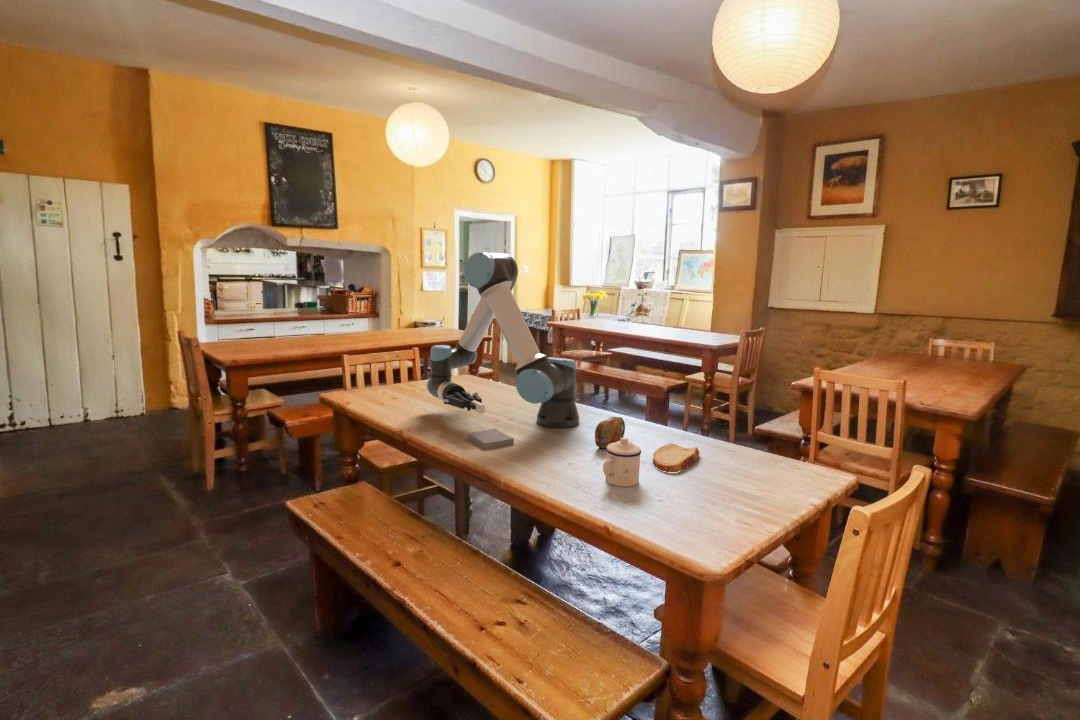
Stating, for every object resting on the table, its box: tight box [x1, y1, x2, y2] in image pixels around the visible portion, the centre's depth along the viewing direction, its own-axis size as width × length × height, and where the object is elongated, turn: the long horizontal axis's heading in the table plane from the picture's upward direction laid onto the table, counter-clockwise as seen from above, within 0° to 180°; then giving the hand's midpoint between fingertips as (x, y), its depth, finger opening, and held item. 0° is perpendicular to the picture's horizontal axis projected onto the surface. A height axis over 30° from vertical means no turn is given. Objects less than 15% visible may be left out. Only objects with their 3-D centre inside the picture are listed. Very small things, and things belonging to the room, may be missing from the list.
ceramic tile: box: [467, 428, 515, 450], centre depth 176 cm, size 2×10×12 cm
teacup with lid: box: [602, 437, 642, 488], centre depth 145 cm, size 12×9×12 cm
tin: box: [594, 416, 626, 450], centre depth 175 cm, size 15×3×8 cm, turn 143°
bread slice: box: [652, 443, 700, 472], centre depth 163 cm, size 18×18×4 cm
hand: (482, 409), depth 178 cm, fingers closed
